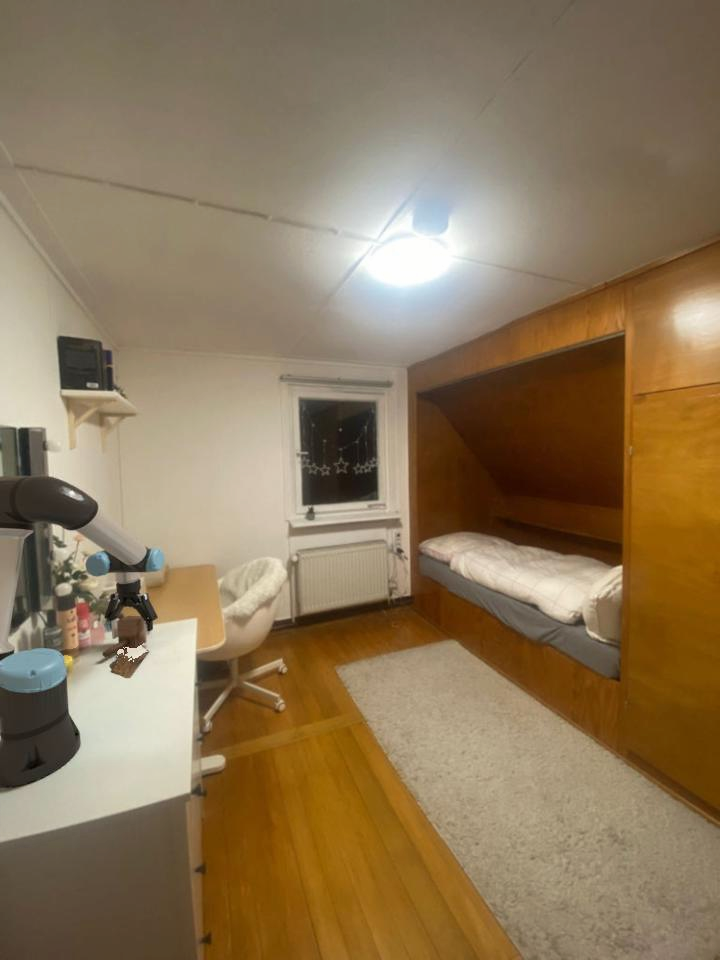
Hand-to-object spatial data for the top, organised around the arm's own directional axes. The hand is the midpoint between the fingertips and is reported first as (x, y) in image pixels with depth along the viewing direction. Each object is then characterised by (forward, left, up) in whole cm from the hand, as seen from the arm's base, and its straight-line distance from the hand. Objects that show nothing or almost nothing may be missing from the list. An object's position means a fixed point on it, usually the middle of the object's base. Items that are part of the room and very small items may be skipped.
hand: (132, 638), depth 139 cm
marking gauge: (-5, 0, -3) cm, 5 cm away
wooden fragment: (-9, -7, -3) cm, 12 cm away
